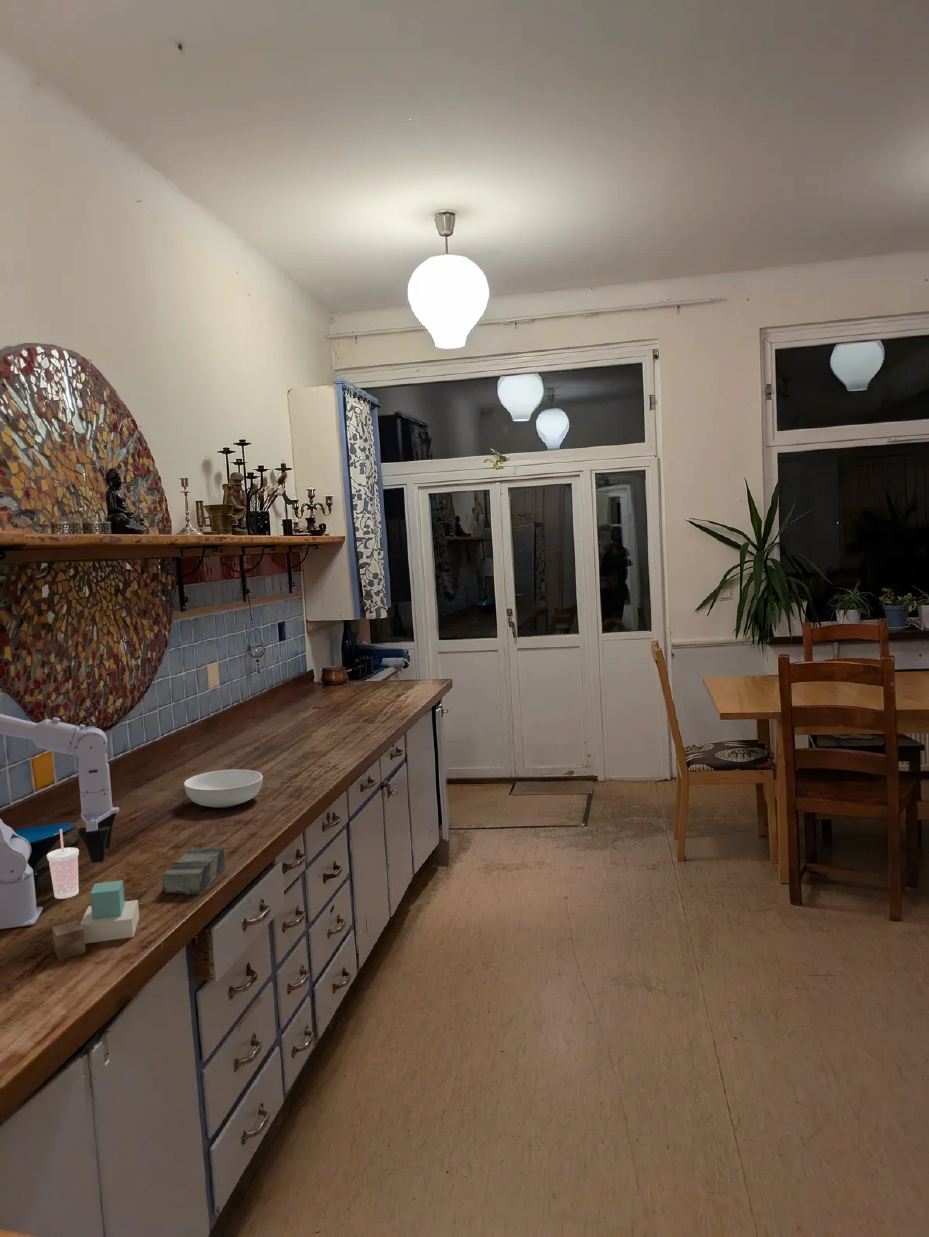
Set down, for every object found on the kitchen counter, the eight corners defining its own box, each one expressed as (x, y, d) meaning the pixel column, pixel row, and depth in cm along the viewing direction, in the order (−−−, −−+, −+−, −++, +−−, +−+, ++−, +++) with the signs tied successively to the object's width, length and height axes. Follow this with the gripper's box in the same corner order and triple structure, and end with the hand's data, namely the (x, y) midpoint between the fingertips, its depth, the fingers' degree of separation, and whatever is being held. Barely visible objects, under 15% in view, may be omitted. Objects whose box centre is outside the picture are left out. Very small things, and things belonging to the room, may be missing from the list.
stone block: (158, 896, 188) (156, 872, 187) (187, 870, 202) (185, 847, 201) (200, 896, 186) (198, 871, 186) (226, 869, 201) (224, 846, 200)
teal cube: (92, 919, 168) (90, 893, 167) (97, 908, 173) (94, 883, 172) (121, 916, 169) (118, 890, 168) (124, 905, 174) (122, 880, 173)
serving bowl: (244, 815, 238) (242, 790, 238) (171, 814, 243) (169, 789, 242) (276, 792, 259) (274, 769, 258) (208, 791, 263) (206, 768, 262)
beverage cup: (46, 895, 190) (40, 829, 189) (75, 886, 194) (69, 822, 193) (57, 902, 186) (51, 836, 184) (87, 893, 190) (81, 828, 189)
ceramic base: (81, 943, 166) (79, 925, 166) (90, 923, 175) (88, 906, 174) (133, 937, 168) (131, 918, 168) (139, 917, 177) (137, 899, 176)
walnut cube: (58, 960, 160) (56, 935, 160) (54, 951, 164) (52, 927, 163) (85, 952, 162) (83, 928, 162) (80, 943, 166) (78, 920, 166)
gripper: (111, 796, 175) (116, 865, 176) (121, 777, 189) (127, 841, 190) (71, 800, 173) (77, 869, 174) (85, 781, 187) (91, 845, 189)
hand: (101, 855), depth 182 cm, fingers open, 7 cm apart
